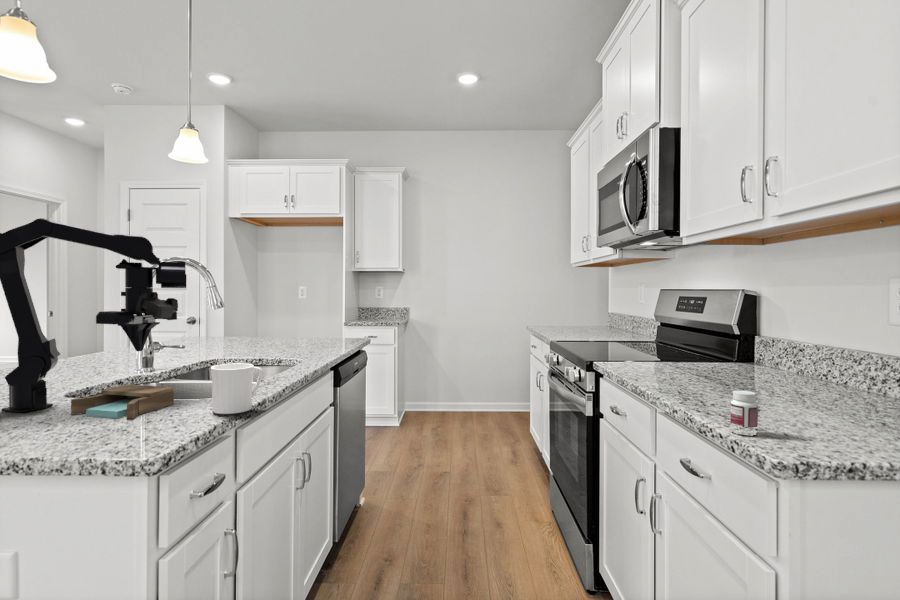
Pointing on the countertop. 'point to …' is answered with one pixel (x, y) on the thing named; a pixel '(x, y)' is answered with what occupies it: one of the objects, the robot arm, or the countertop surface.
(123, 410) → the panel
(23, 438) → the countertop surface
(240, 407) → the mug
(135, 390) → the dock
